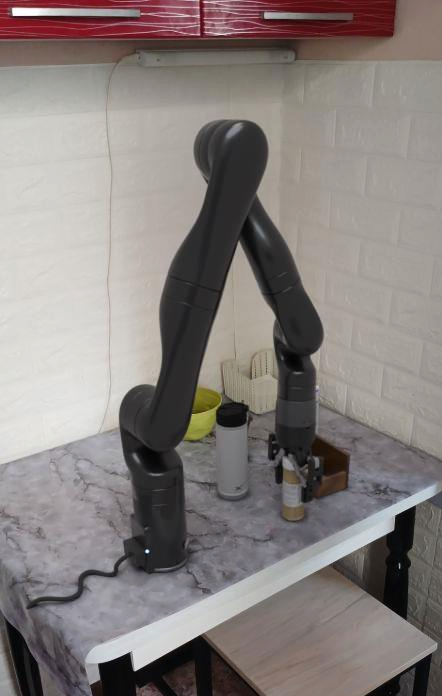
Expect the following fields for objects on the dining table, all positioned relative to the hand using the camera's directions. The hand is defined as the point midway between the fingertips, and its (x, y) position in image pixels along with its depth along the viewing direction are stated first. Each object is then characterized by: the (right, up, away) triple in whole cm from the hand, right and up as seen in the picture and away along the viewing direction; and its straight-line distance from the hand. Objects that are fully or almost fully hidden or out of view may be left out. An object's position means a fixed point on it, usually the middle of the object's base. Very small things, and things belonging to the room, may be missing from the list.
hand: (293, 492), depth 148 cm
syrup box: (+4, +11, +30) cm, 32 cm away
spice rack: (+5, +3, +16) cm, 17 cm away
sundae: (-10, +7, +24) cm, 27 cm away
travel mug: (-11, -1, +11) cm, 16 cm away
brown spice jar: (0, -5, +3) cm, 6 cm away
